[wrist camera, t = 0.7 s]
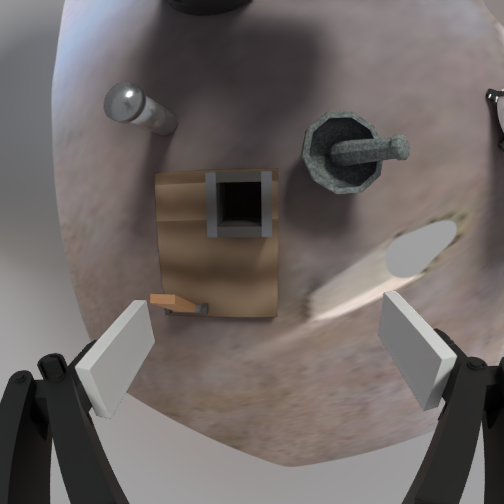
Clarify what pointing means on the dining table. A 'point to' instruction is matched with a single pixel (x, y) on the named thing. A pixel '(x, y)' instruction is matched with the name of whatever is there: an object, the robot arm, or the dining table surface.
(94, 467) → the robot arm
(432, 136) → the dining table surface
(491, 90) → the coffee press
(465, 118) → the dining table surface
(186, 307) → the strip
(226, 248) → the hitch board
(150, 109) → the pin
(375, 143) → the mortar and pestle
